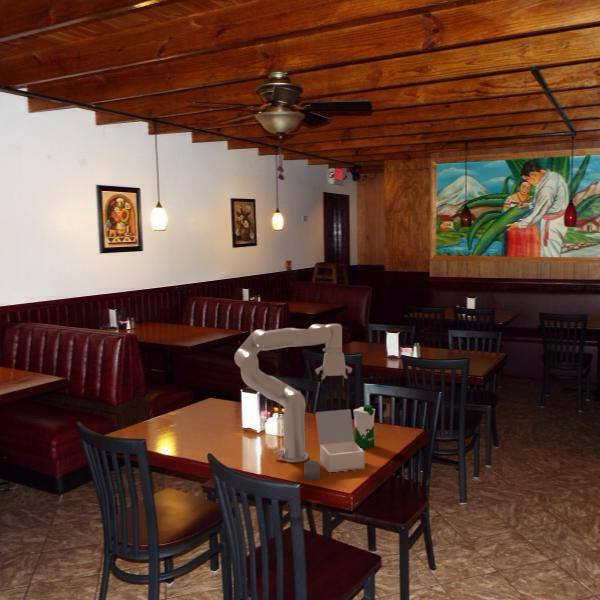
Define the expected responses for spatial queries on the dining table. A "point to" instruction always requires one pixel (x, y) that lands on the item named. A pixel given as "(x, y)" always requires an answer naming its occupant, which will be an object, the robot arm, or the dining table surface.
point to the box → (341, 456)
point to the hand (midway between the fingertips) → (334, 386)
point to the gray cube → (311, 470)
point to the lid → (334, 426)
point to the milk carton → (364, 426)
